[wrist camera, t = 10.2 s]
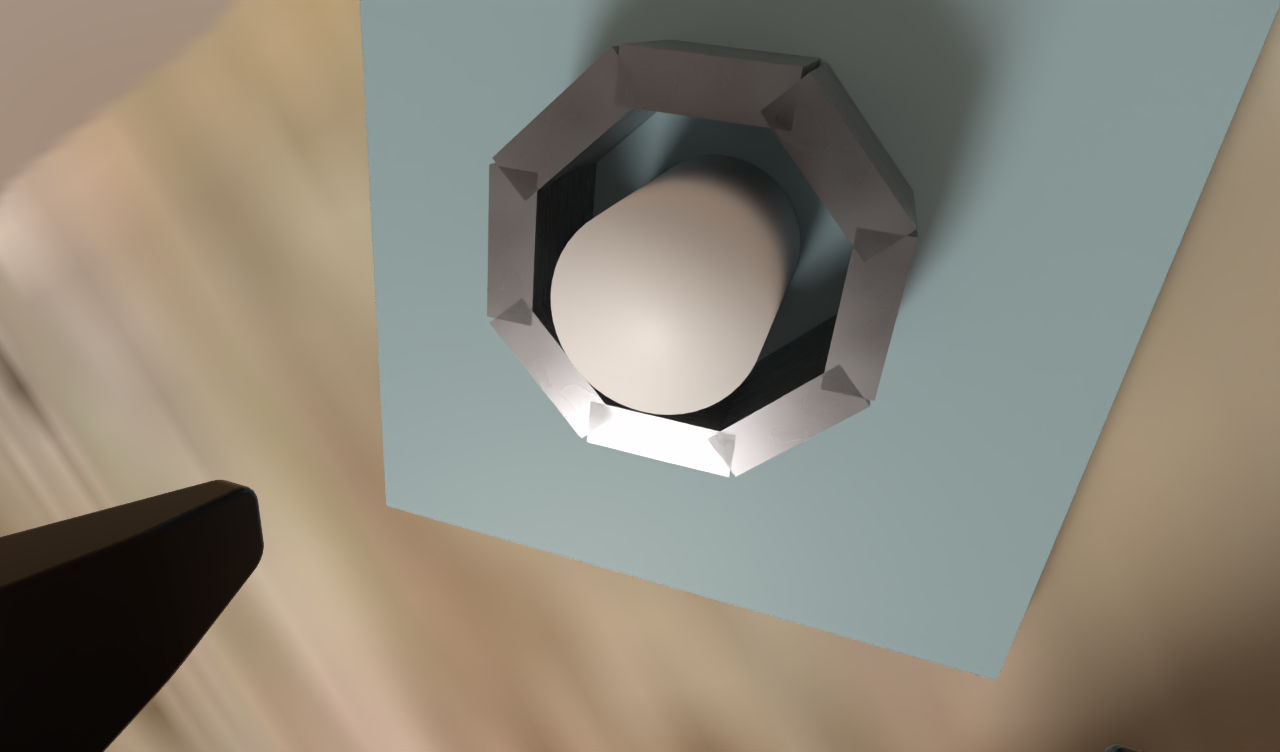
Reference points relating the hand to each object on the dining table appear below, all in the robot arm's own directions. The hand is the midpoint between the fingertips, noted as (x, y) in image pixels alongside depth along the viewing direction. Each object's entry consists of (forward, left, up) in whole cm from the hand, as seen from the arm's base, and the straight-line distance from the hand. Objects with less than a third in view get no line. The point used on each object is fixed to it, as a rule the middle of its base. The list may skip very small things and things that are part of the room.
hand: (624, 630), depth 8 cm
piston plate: (+2, +1, -11) cm, 11 cm away
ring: (+2, +1, -9) cm, 10 cm away
